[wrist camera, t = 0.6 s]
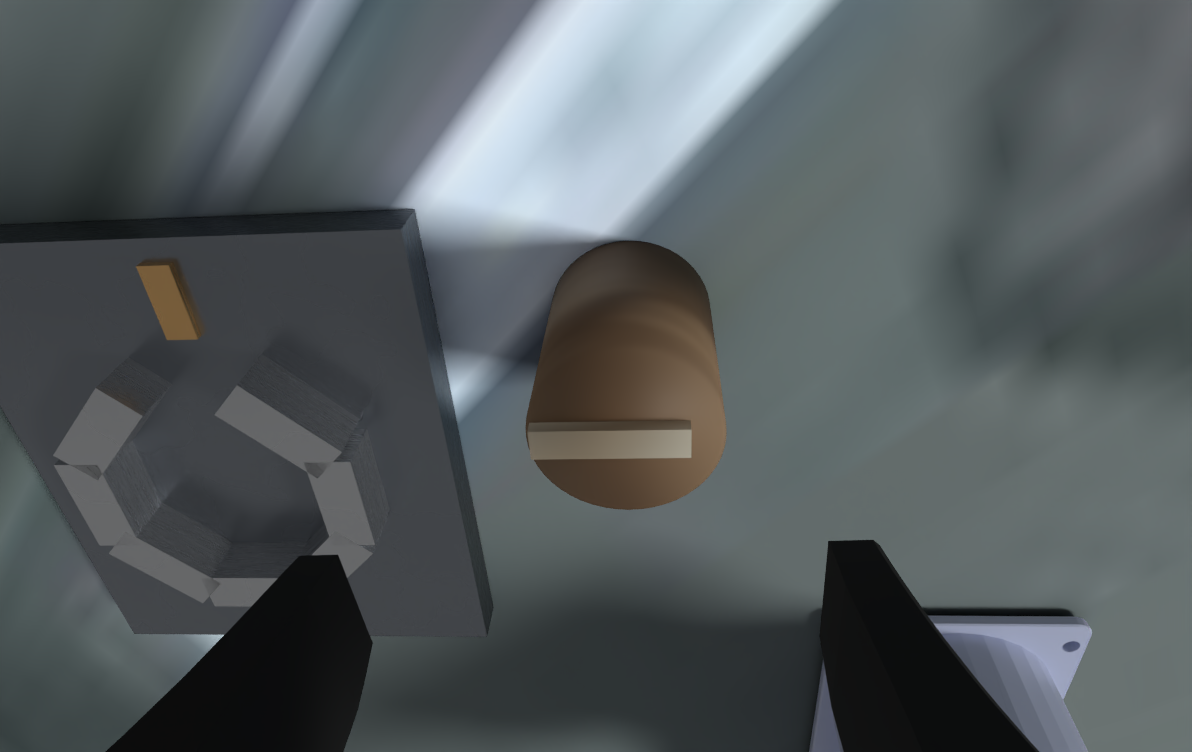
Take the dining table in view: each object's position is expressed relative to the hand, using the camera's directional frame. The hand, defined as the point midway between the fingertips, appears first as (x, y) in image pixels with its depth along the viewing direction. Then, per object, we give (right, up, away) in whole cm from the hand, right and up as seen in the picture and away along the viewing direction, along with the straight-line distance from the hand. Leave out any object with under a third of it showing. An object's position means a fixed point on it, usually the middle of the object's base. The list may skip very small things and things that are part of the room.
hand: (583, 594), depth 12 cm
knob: (+1, +5, +8) cm, 10 cm away
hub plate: (-10, +1, +11) cm, 15 cm away
